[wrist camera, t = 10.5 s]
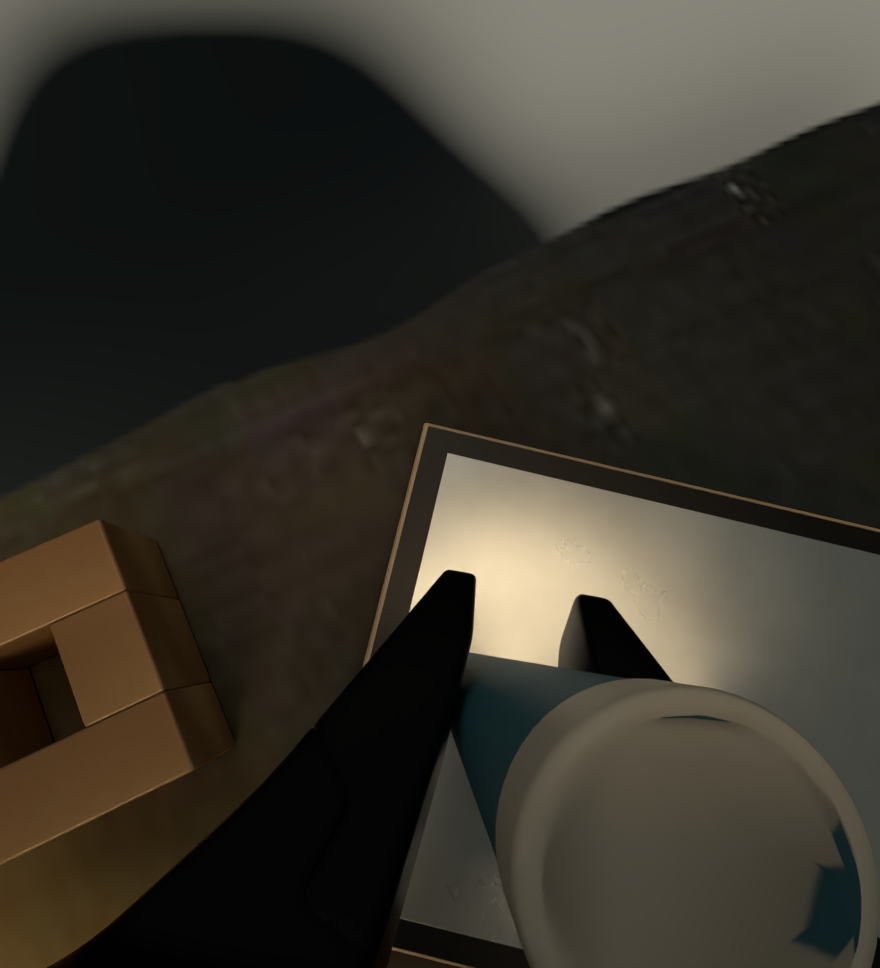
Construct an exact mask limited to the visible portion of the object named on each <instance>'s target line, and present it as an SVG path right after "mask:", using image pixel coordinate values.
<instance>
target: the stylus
mask: <svg viewBox="0 0 880 968" xmlns="http://www.w3.org/2000/svg"><path fill="white" fill-rule="evenodd" d="M451 733H452V736H453V739H454V741H455V744H456V747H457V750H458V753H459V755H460V758H461V761H462V764H463V767H464V769H465V772H466V775H467V778H468V781H469V783H470V786H471V789H472V792H473V795H474V798H475V800H476V803H477V806H478V809H479V812H480V814H481V817H482V820H483V823H484V826H485V828H486V831H487V834H488V837H489V840H490V842H491V845H492V848H493V851H494V854H495V856H496V859H497V864H498V871H499V875H500V880H501V884H502V888H503V892H504V895H505V898H506V901H507V904H508V907H509V910H510V913H511V916H512V919H513V922H514V925H515V928H516V930H517V933H518V936H519V939H520V942H521V945H522V948H523V950H524V953H525V956H526V958H527V961H528V964H529V966H530V968H871V967H872V963H873V959H874V955H875V951H876V945H877V937H878V929H879V889H878V881H877V872H876V867H875V862H874V858H873V854H872V849H871V845H870V842H869V839H868V837H867V834H866V831H865V828H864V825H863V822H862V820H861V818H860V816H859V814H858V812H857V809H856V807H855V805H854V803H853V801H852V799H851V797H850V796H849V794H848V792H847V791H846V789H845V788H844V786H843V784H842V783H841V781H840V780H839V778H838V776H837V775H836V773H835V772H834V770H833V769H832V768H831V766H830V765H829V764H828V763H827V761H826V760H825V759H824V758H823V756H822V755H821V754H820V753H819V751H818V750H817V749H816V748H815V747H814V746H813V745H812V744H811V743H810V742H809V741H808V740H807V739H806V738H805V737H804V736H803V735H802V734H801V733H800V732H799V731H797V730H796V729H795V728H794V727H792V726H791V725H790V724H788V723H787V722H786V721H785V720H783V719H782V718H781V717H779V716H778V715H776V714H774V713H773V712H771V711H769V710H768V709H766V708H764V707H763V706H761V705H759V704H757V703H755V702H752V701H750V700H748V699H746V698H743V697H741V696H739V695H736V694H732V693H729V692H726V691H722V690H719V689H715V688H709V687H702V686H696V685H689V684H683V683H676V682H670V681H663V680H656V679H636V678H632V679H626V678H620V677H614V676H608V675H602V674H596V673H590V672H584V671H578V670H572V669H567V668H561V667H555V666H549V665H543V664H537V663H531V662H525V661H519V660H513V659H507V658H501V657H495V656H489V655H483V654H477V653H471V652H469V655H468V659H467V663H466V667H465V672H464V676H463V680H462V684H461V688H460V693H459V697H458V701H457V704H456V708H455V711H454V716H453V720H452V726H451Z"/></svg>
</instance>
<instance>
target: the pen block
mask: <svg viewBox="0 0 880 968" xmlns="http://www.w3.org/2000/svg"><path fill="white" fill-rule="evenodd" d="M58 653H59V654H60V656H61V659H62V662H63V665H64V668H65V671H66V674H67V677H68V679H69V682H70V685H71V688H72V691H73V694H74V697H75V699H76V702H77V705H78V708H79V711H80V714H81V717H82V720H83V722H84V725H85V726H86V727H87V728H85V729H83V730H81V731H78V732H76V733H74V734H72V735H70V736H68V737H66V738H64V739H61V740H59V741H57V742H55V743H53V740H52V737H51V734H50V731H49V728H48V725H47V722H46V719H45V716H44V713H43V710H42V707H41V704H40V701H39V698H38V696H37V693H36V690H35V687H34V684H33V681H32V678H31V675H30V672H29V670H28V669H25V668H28V667H30V666H32V665H34V664H36V663H39V662H41V661H43V660H45V659H47V658H49V657H52V656H54V655H56V654H58ZM209 681H210V678H209V675H208V673H207V670H206V668H205V665H204V662H203V660H202V657H201V655H200V652H199V650H198V647H197V644H196V642H195V639H194V637H193V634H192V632H191V629H190V627H189V624H188V621H187V619H186V616H185V614H184V611H183V609H182V606H181V603H180V601H179V600H177V594H176V591H175V588H174V586H173V583H172V581H171V578H170V576H169V573H168V570H167V568H166V565H165V563H164V560H163V558H162V555H161V553H160V550H159V547H158V545H157V542H156V541H155V540H153V539H150V538H147V537H145V536H142V535H139V534H137V533H134V532H132V531H129V530H126V529H124V528H121V527H119V526H116V525H113V524H111V523H108V522H105V521H103V520H96V521H93V522H91V523H89V524H86V525H84V526H82V527H79V528H77V529H75V530H73V531H70V532H68V533H66V534H63V535H61V536H59V537H56V538H54V539H52V540H50V541H47V542H45V543H43V544H40V545H38V546H36V547H33V548H31V549H29V550H26V551H24V552H22V553H20V554H17V555H15V556H13V557H10V558H8V559H6V560H3V561H1V562H0V865H2V864H4V863H6V862H8V861H10V860H12V859H14V858H17V857H19V856H21V855H23V854H25V853H27V852H29V851H31V850H33V849H35V848H37V847H39V846H41V845H43V844H45V843H47V842H49V841H51V840H53V839H55V838H57V837H59V836H61V835H64V834H66V833H68V832H70V831H72V830H74V829H76V828H78V827H80V826H82V825H84V824H86V823H88V822H90V821H92V820H94V819H96V818H98V817H100V816H102V815H104V814H106V813H108V812H110V811H113V810H115V809H117V808H119V807H121V806H123V805H125V804H127V803H129V802H131V801H133V800H135V799H137V798H139V797H141V796H143V795H145V794H147V793H149V792H151V791H153V790H155V789H157V788H159V787H162V786H164V785H166V784H168V783H170V782H172V781H174V780H176V779H178V778H180V777H182V776H184V775H186V774H188V773H190V772H192V771H194V770H196V769H197V768H199V767H201V766H203V765H204V764H206V763H208V762H209V761H211V760H213V759H215V758H216V757H218V756H220V755H222V754H223V753H225V752H227V751H228V750H230V749H232V748H234V746H235V742H234V739H233V737H232V734H231V732H230V729H229V727H228V724H227V721H226V719H225V716H224V714H223V711H222V709H221V706H220V704H219V701H218V698H217V696H216V693H215V691H214V688H213V686H212V684H211V683H209Z"/></svg>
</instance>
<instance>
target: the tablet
mask: <svg viewBox="0 0 880 968" xmlns="http://www.w3.org/2000/svg"><path fill="white" fill-rule="evenodd" d="M446 570H455V571H460V572H466V573H471V574H473V575H474V576H475V578H476V593H475V611H474V629H473V637H472V642H471V647H470V651H469V652H471V653H477V654H483V655H489V656H495V657H501V658H507V659H513V660H519V661H525V662H531V663H537V664H543V665H549V666H555V667H558V656H559V647H560V642H561V638H562V635H563V632H564V629H565V626H566V623H567V620H568V617H569V614H570V611H571V608H572V605H573V602H574V600H575V598H576V597H577V596H578V595H580V594H585V595H590V596H596V597H601V598H605V599H608V600H609V601H610V602H611V603H612V604H613V605H614V607H615V608H616V609H617V610H618V612H619V613H620V614H621V616H622V617H623V618H624V619H625V621H626V622H627V623H628V625H629V626H630V627H631V628H632V630H633V631H634V632H635V634H636V635H637V636H638V637H639V639H640V640H641V641H642V642H643V644H644V645H645V646H646V648H647V649H648V650H649V651H650V653H651V654H652V655H653V657H654V658H655V659H656V660H657V662H658V663H659V664H660V666H661V667H662V668H663V669H664V671H665V672H666V673H667V675H668V676H669V677H670V678H671V680H672V681H673V682H676V683H683V684H689V685H696V686H702V687H709V688H715V689H719V690H722V691H726V692H729V693H732V694H736V695H739V696H741V697H743V698H746V699H748V700H750V701H752V702H755V703H757V704H759V705H761V706H763V707H764V708H766V709H768V710H769V711H771V712H773V713H774V714H776V715H778V716H779V717H781V718H782V719H783V720H785V721H786V722H787V723H788V724H790V725H791V726H792V727H794V728H795V729H796V730H797V731H799V732H800V733H801V734H802V735H803V736H804V737H805V738H806V739H807V740H808V741H809V742H810V743H811V744H812V745H813V746H814V747H815V748H816V749H817V750H818V751H819V753H820V754H821V755H822V756H823V758H824V759H825V760H826V761H827V763H828V764H829V765H830V766H831V768H832V769H833V770H834V772H835V773H836V775H837V776H838V778H839V780H840V781H841V783H842V784H843V786H844V788H845V789H846V791H847V792H848V794H849V796H850V797H851V799H852V801H853V803H854V805H855V807H856V809H857V812H858V814H859V816H860V818H861V820H862V822H863V825H864V828H865V831H866V834H867V837H868V839H869V842H870V845H871V849H872V854H873V858H874V862H875V867H876V872H877V881H878V889H879V929H878V937H879V938H880V529H876V528H872V527H868V526H863V525H859V524H855V523H851V522H846V521H842V520H838V519H834V518H829V517H825V516H821V515H817V514H812V513H808V512H804V511H800V510H795V509H791V508H787V507H783V506H778V505H774V504H770V503H766V502H761V501H757V500H753V499H749V498H744V497H740V496H736V495H732V494H727V493H723V492H719V491H715V490H710V489H706V488H702V487H698V486H693V485H689V484H685V483H681V482H676V481H672V480H668V479H664V478H659V477H655V476H651V475H647V474H642V473H638V472H634V471H630V470H625V469H621V468H617V467H613V466H608V465H604V464H600V463H596V462H591V461H587V460H583V459H579V458H574V457H570V456H566V455H562V454H557V453H553V452H549V451H545V450H540V449H536V448H532V447H528V446H523V445H519V444H515V443H511V442H506V441H502V440H498V439H494V438H489V437H485V436H481V435H477V434H472V433H468V432H464V431H460V430H455V429H451V428H447V427H443V426H438V425H434V424H430V423H425V424H424V425H423V429H422V433H421V437H420V441H419V445H418V449H417V453H416V457H415V461H414V465H413V469H412V473H411V477H410V481H409V485H408V488H407V492H406V496H405V500H404V504H403V508H402V512H401V516H400V520H399V524H398V528H397V532H396V536H395V540H394V544H393V548H392V552H391V556H390V560H389V564H388V567H387V571H386V575H385V579H384V583H383V587H382V591H381V595H380V599H379V603H378V607H377V611H376V615H375V619H374V623H373V627H372V631H371V635H370V639H369V642H368V646H367V650H366V654H365V658H364V662H363V666H362V668H363V667H364V666H365V664H366V663H367V662H368V661H369V660H370V659H371V657H372V656H373V655H374V654H375V653H376V651H377V650H378V649H379V648H380V647H381V646H382V644H383V643H384V642H385V641H386V640H387V638H388V637H389V636H390V635H391V634H392V633H393V631H394V630H395V629H396V628H397V627H398V625H399V624H400V623H401V622H402V621H403V620H404V618H405V617H406V616H407V615H408V614H409V612H410V611H411V610H412V609H413V608H414V607H415V605H416V604H417V603H418V602H419V601H420V599H421V598H422V597H423V596H424V595H425V594H426V592H427V591H428V590H429V589H430V588H431V586H432V585H433V584H434V583H435V582H436V581H437V579H438V578H439V577H440V576H441V575H442V573H443V572H445V571H446ZM392 950H394V951H398V952H402V953H406V954H410V955H414V956H418V957H422V958H426V959H430V960H434V961H438V962H442V963H446V964H449V965H453V966H457V967H461V968H530V966H529V964H528V961H527V958H526V956H525V953H524V950H523V948H522V945H521V942H520V939H519V936H518V933H517V930H516V928H515V925H514V922H513V919H512V916H511V913H510V910H509V907H508V904H507V901H506V898H505V895H504V892H503V888H502V884H501V880H500V875H499V871H498V864H497V859H496V856H495V854H494V851H493V848H492V845H491V842H490V840H489V837H488V834H487V831H486V828H485V826H484V823H483V820H482V817H481V814H480V812H479V809H478V806H477V803H476V800H475V798H474V795H473V792H472V789H471V786H470V783H469V781H468V778H467V775H466V772H465V769H464V767H463V764H462V761H461V758H460V755H459V753H458V750H457V747H456V744H455V741H454V739H453V736H452V733H451V730H450V734H449V738H448V743H447V747H446V751H445V755H444V759H443V763H442V766H441V770H440V774H439V777H438V781H437V785H436V788H435V792H434V796H433V799H432V803H431V807H430V810H429V814H428V818H427V821H426V825H425V829H424V832H423V836H422V840H421V843H420V847H419V851H418V854H417V858H416V862H415V865H414V869H413V873H412V876H411V880H410V884H409V887H408V891H407V895H406V898H405V902H404V906H403V909H402V913H401V917H400V920H399V924H398V928H397V931H396V935H395V939H394V942H393V946H392Z"/></svg>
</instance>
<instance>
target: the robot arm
mask: <svg viewBox="0 0 880 968" xmlns="http://www.w3.org/2000/svg"><path fill="white" fill-rule="evenodd" d="M475 593H476V578H475V576H474V575H473V574H471V573H466V572H460V571H455V570H446V571H445V572H443V573H442V575H441V576H440V577H439V578H438V579H437V581H436V582H435V583H434V584H433V585H432V586H431V588H430V589H429V590H428V591H427V592H426V594H425V595H424V596H423V597H422V598H421V599H420V601H419V602H418V603H417V604H416V605H415V607H414V608H413V609H412V610H411V611H410V612H409V614H408V615H407V616H406V617H405V618H404V620H403V621H402V622H401V623H400V624H399V625H398V627H397V628H396V629H395V630H394V631H393V633H392V634H391V635H390V636H389V637H388V638H387V640H386V641H385V642H384V643H383V644H382V646H381V647H380V648H379V649H378V650H377V651H376V653H375V654H374V655H373V656H372V657H371V659H370V660H369V661H368V662H367V663H366V664H365V666H364V667H363V668H362V669H361V670H360V672H359V673H358V674H357V675H356V676H355V677H354V679H353V680H352V681H351V682H350V683H349V685H348V686H347V687H346V688H345V689H344V690H343V692H342V693H341V694H340V695H339V696H338V698H337V699H336V700H335V701H334V702H333V703H332V705H331V706H330V707H329V708H328V709H327V711H326V712H325V713H324V714H323V715H322V716H321V718H320V719H319V720H318V721H317V722H316V724H315V726H314V728H312V729H310V730H309V731H308V732H307V734H306V735H305V736H304V737H303V738H302V740H301V741H300V742H299V743H298V744H297V745H296V747H295V748H294V749H293V750H292V751H291V752H290V754H289V755H288V756H287V757H286V758H285V759H284V760H283V761H282V762H281V763H280V765H279V766H278V767H277V768H276V769H275V770H274V771H273V772H272V773H271V774H270V776H269V777H268V778H267V779H266V780H265V781H264V782H263V783H262V784H261V785H260V786H259V787H258V788H257V789H256V790H255V791H254V792H253V793H252V794H251V795H250V796H249V797H248V798H247V799H246V800H245V801H244V802H243V803H242V804H241V805H240V806H239V807H238V808H237V809H236V810H234V811H233V812H232V813H231V814H230V815H229V816H228V817H227V818H226V819H225V820H224V821H223V822H222V823H221V824H220V825H219V826H218V827H216V828H215V829H214V830H213V831H212V832H211V833H210V834H209V835H208V836H207V837H206V838H204V839H203V840H202V841H201V842H200V843H199V844H198V845H197V846H196V847H195V848H194V849H192V850H191V851H190V852H189V853H188V854H187V855H186V856H185V857H184V858H183V859H182V860H180V861H179V862H178V863H177V864H176V865H175V866H174V867H173V868H172V869H171V870H170V871H168V872H167V873H166V874H165V875H164V876H163V877H162V878H161V879H160V880H159V881H158V882H156V883H155V884H154V885H153V886H152V887H151V888H150V889H149V890H148V891H147V892H146V893H144V894H143V895H142V896H141V897H140V898H139V899H138V900H137V901H136V902H135V903H134V904H132V905H131V906H130V907H129V908H128V909H127V910H126V911H125V912H123V913H122V914H121V915H120V916H119V917H118V918H117V919H116V920H114V921H113V922H112V923H111V924H110V925H109V926H107V927H106V928H105V929H104V930H102V931H101V932H100V933H99V934H97V935H96V936H95V937H94V938H92V939H91V940H90V941H88V942H87V943H85V944H84V945H82V946H81V947H80V948H78V949H77V950H75V951H74V952H72V953H71V954H69V955H68V956H66V957H64V958H63V959H61V960H59V961H58V962H56V963H54V964H53V965H51V966H49V967H47V968H387V964H388V961H389V957H390V953H391V950H392V946H393V942H394V939H395V935H396V931H397V928H398V924H399V920H400V917H401V913H402V909H403V906H404V902H405V898H406V895H407V891H408V887H409V884H410V880H411V876H412V873H413V869H414V865H415V862H416V858H417V854H418V851H419V847H420V843H421V840H422V836H423V832H424V829H425V825H426V821H427V818H428V814H429V810H430V807H431V803H432V799H433V796H434V792H435V788H436V785H437V781H438V777H439V774H440V770H441V766H442V763H443V759H444V755H445V751H446V747H447V743H448V738H449V734H450V730H451V726H452V720H453V716H454V711H455V708H456V704H457V701H458V697H459V693H460V688H461V684H462V680H463V676H464V672H465V667H466V663H467V659H468V655H469V651H470V647H471V642H472V637H473V629H474V611H475ZM558 667H561V668H567V669H572V670H578V671H584V672H590V673H596V674H602V675H608V676H614V677H620V678H626V679H632V678H636V679H656V680H663V681H670V682H673V681H672V680H671V678H670V677H669V676H668V675H667V673H666V672H665V671H664V669H663V668H662V667H661V666H660V664H659V663H658V662H657V660H656V659H655V658H654V657H653V655H652V654H651V653H650V651H649V650H648V649H647V648H646V646H645V645H644V644H643V642H642V641H641V640H640V639H639V637H638V636H637V635H636V634H635V632H634V631H633V630H632V628H631V627H630V626H629V625H628V623H627V622H626V621H625V619H624V618H623V617H622V616H621V614H620V613H619V612H618V610H617V609H616V608H615V607H614V605H613V604H612V603H611V602H610V601H609V600H608V599H605V598H601V597H596V596H590V595H585V594H580V595H578V596H577V597H576V598H575V600H574V602H573V605H572V608H571V611H570V614H569V617H568V620H567V623H566V626H565V629H564V632H563V635H562V638H561V642H560V647H559V656H558ZM871 968H880V938H879V937H877V945H876V951H875V955H874V959H873V963H872V967H871Z"/></svg>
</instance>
